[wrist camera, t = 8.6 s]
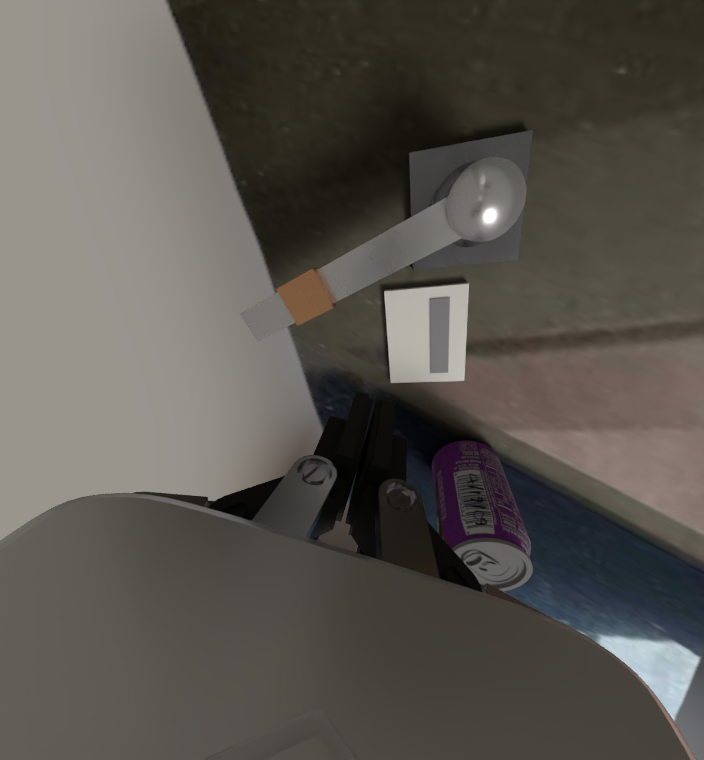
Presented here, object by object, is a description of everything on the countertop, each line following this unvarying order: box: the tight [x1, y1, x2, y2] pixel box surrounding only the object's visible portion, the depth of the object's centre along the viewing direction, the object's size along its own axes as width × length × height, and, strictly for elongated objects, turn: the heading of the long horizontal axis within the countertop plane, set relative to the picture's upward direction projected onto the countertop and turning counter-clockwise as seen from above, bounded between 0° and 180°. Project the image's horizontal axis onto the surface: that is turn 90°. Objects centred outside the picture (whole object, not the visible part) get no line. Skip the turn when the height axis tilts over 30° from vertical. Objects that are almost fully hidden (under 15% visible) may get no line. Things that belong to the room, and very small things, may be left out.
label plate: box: [384, 283, 469, 383], centre depth 28 cm, size 9×7×1 cm
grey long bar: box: [240, 157, 526, 341], centre depth 20 cm, size 20×4×4 cm, turn 117°
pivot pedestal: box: [409, 130, 533, 271], centre depth 21 cm, size 8×8×4 cm
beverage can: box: [432, 440, 533, 591], centre depth 28 cm, size 7×7×12 cm
